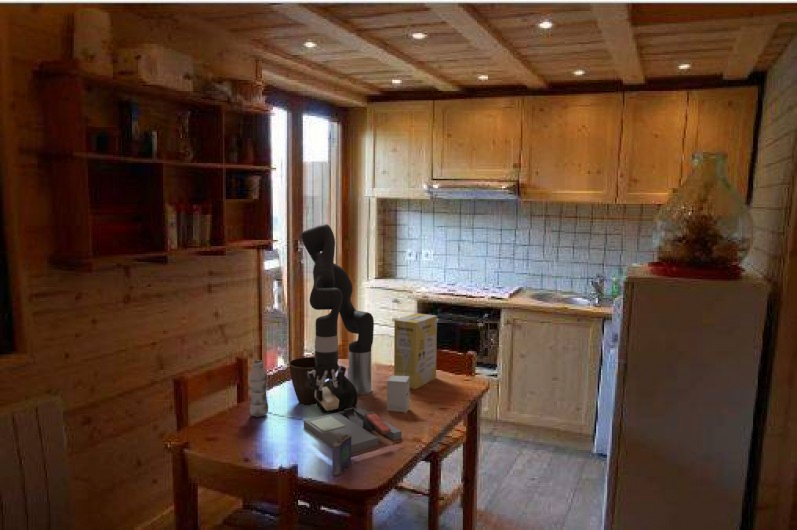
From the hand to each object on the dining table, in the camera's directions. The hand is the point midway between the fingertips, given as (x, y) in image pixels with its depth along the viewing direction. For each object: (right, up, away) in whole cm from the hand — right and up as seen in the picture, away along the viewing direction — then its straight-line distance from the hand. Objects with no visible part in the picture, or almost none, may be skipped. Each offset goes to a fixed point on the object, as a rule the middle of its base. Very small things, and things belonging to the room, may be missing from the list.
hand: (326, 399), depth 186 cm
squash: (+1, -10, +22) cm, 25 cm away
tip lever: (+12, -12, +3) cm, 17 cm away
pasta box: (+31, -6, +59) cm, 67 cm away
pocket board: (+8, -12, 0) cm, 15 cm away
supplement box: (+24, -10, +23) cm, 35 cm away
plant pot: (-11, -9, +32) cm, 35 cm away
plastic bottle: (-27, -11, +18) cm, 34 cm away
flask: (+7, -15, -22) cm, 28 cm away
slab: (0, -1, 0) cm, 1 cm away
